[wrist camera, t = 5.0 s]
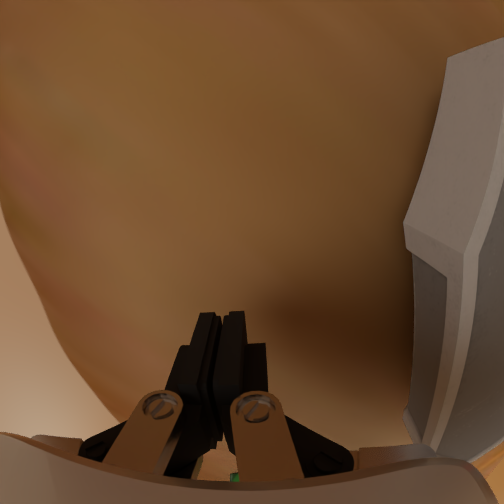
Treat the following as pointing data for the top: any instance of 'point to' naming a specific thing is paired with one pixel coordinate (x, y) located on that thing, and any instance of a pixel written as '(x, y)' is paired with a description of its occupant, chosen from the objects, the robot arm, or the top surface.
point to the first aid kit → (460, 264)
